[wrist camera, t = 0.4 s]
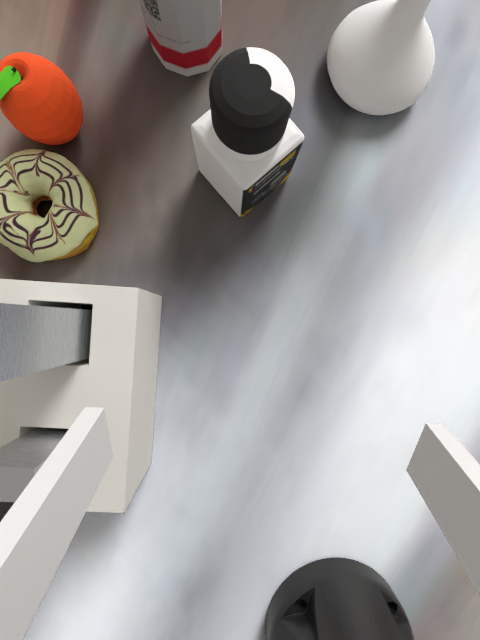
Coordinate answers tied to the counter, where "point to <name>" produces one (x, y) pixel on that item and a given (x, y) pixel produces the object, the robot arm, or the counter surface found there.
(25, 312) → the upper square grey bar
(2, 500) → the grey square peg
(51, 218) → the decorated donut
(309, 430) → the counter surface
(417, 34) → the flower in vase
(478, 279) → the counter surface
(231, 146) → the medicine bottle
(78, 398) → the housing
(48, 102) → the clementine
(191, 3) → the spray bottle
